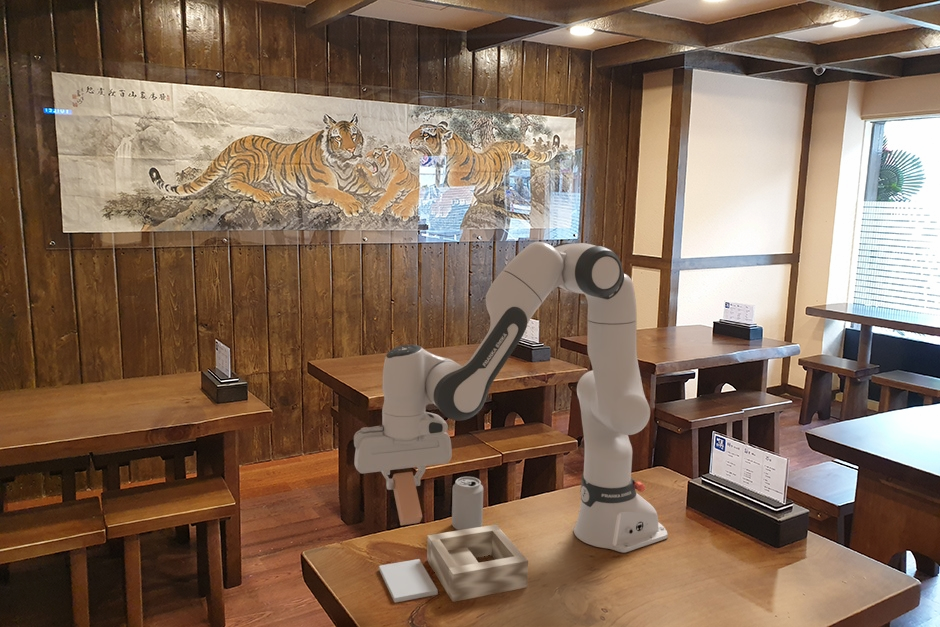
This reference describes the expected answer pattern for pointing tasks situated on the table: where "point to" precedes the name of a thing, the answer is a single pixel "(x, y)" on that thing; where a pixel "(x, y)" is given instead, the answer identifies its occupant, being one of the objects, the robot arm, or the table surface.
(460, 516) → the can
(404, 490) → the bar
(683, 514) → the table surface
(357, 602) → the table surface
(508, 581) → the pocket block
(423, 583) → the mat
